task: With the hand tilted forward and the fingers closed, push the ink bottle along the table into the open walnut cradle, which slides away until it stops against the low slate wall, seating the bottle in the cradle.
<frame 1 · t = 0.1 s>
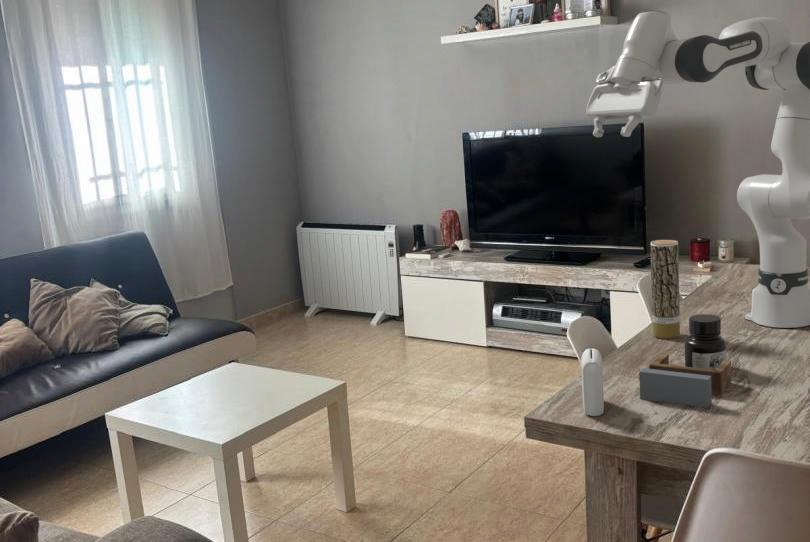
hand: (610, 136, 184), 54 cm above the table, tool tilted 30°, fingers open, 8 cm apart
wall: (675, 401, 171), on the table
photo printer: (593, 408, 171), on the table
paper tube: (666, 336, 215), on the table
cradle: (690, 373, 179), point 3 cm above the table, slide at 0.0 cm
ink bottle: (705, 369, 189), on the table
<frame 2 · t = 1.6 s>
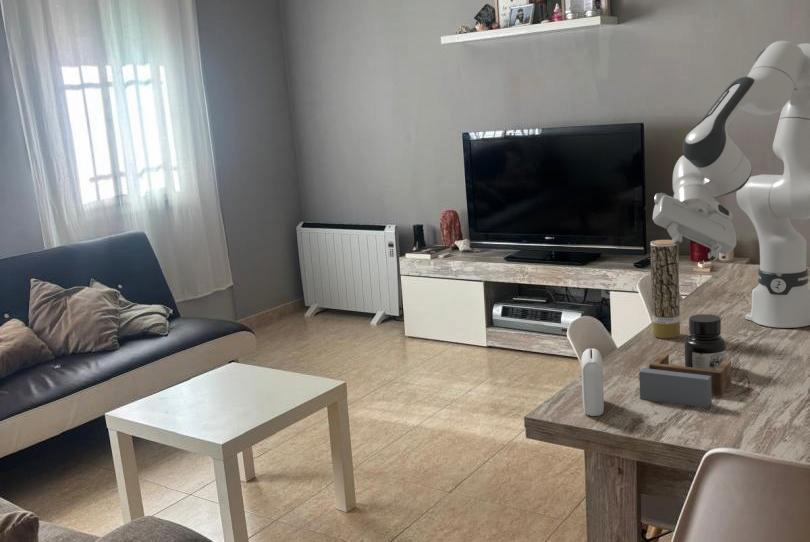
hand: (695, 250, 183), 28 cm above the table, tool tilted 55°, fingers open, 8 cm apart
nothing on the table moved.
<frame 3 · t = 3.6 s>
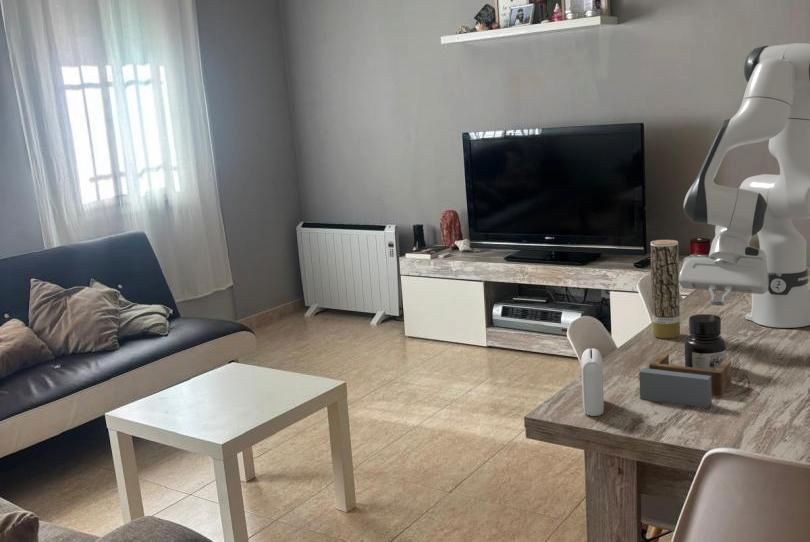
hand: (717, 304, 194), 13 cm above the table, tool tilted 45°, fingers closed
nothing on the table moved.
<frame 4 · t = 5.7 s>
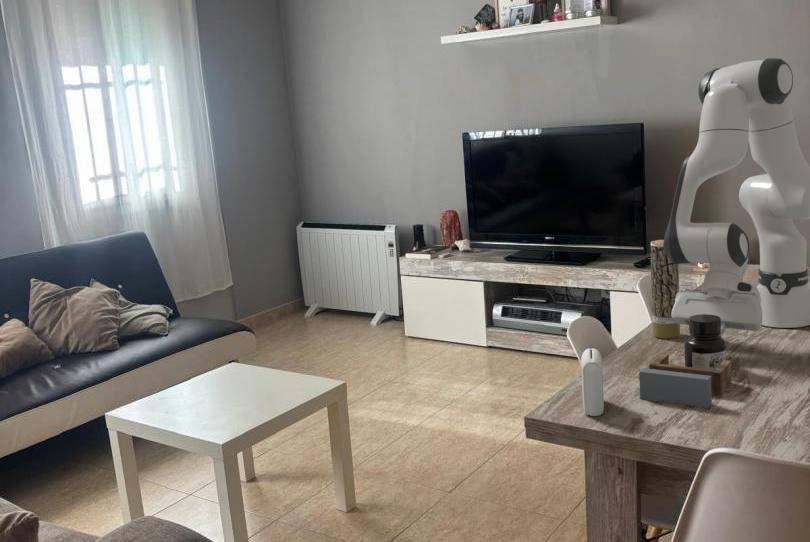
hand: (710, 341, 191), 5 cm above the table, tool tilted 45°, fingers closed, pressing on ink bottle
ink bottle: (705, 369, 188), on the table, touching gripper
everything else where it was.
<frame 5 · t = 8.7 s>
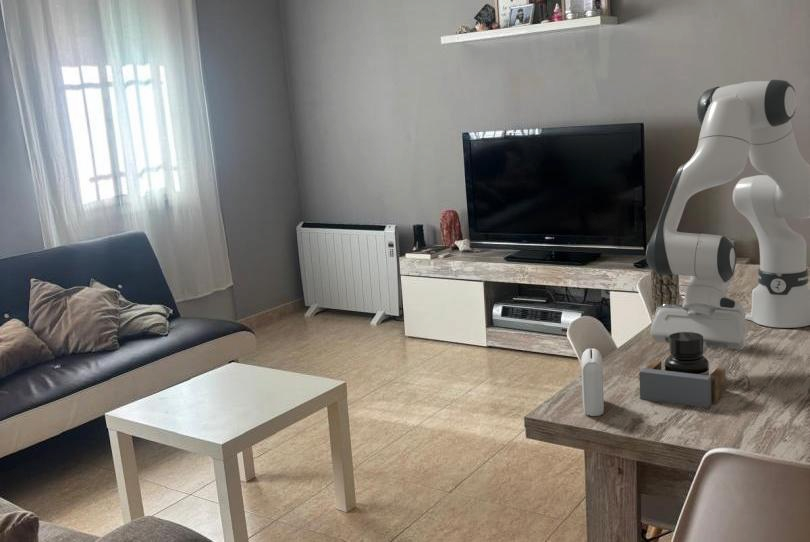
hand: (691, 361, 179), 5 cm above the table, tool tilted 45°, fingers closed, pressing on ink bottle
cradle: (683, 381, 175), point 3 cm above the table, slide at 5.1 cm, touching ink bottle
ink bottle: (687, 390, 176), on the table, touching cradle, gripper
everything else where it was.
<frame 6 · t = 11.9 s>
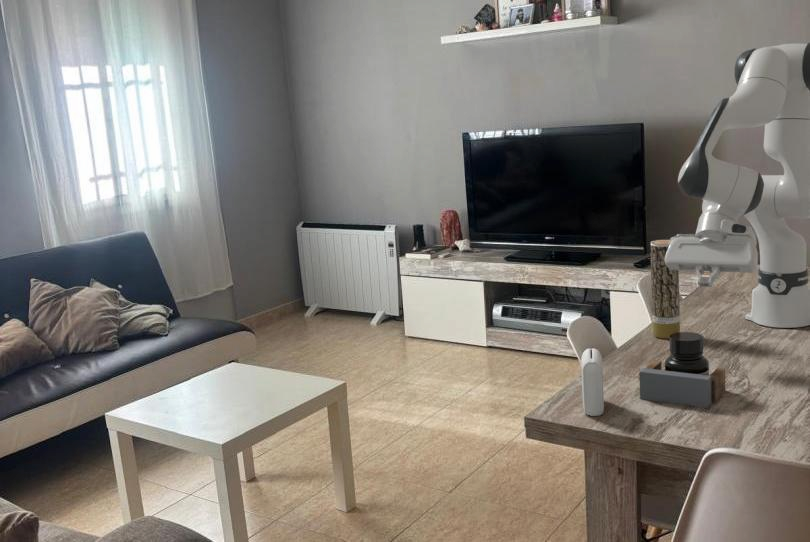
hand: (704, 285, 186), 19 cm above the table, tool tilted 45°, fingers closed
cradle: (683, 381, 175), point 2 cm above the table, slide at 5.0 cm
ink bottle: (687, 390, 176), on the table
everything else where it was.
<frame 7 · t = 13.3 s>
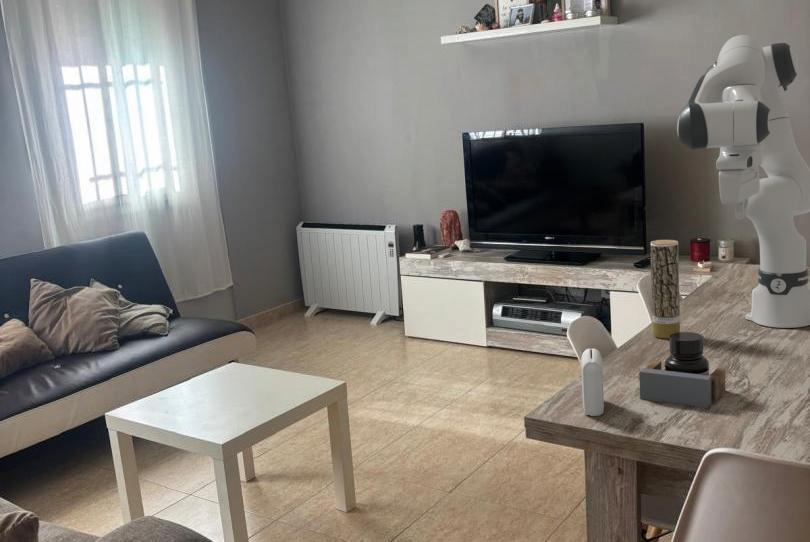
hand: (740, 218, 188), 33 cm above the table, tool pointing down, fingers closed
nothing on the table moved.
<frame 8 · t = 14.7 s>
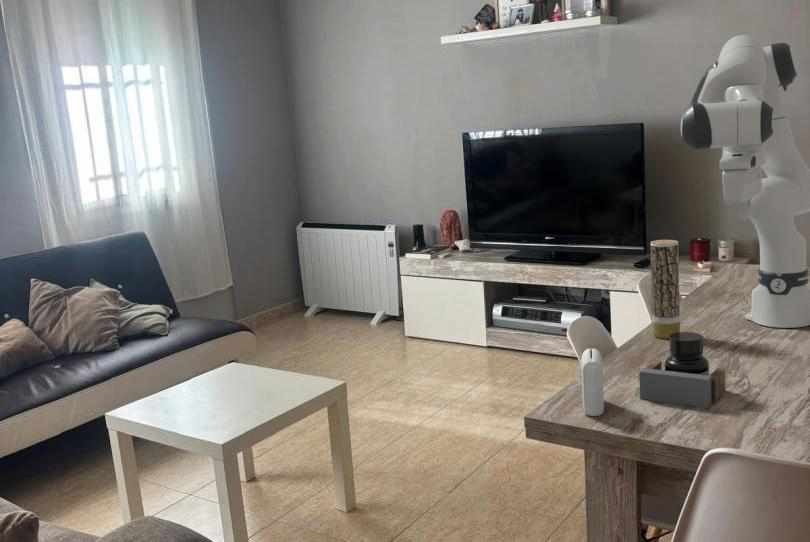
hand: (743, 218, 187), 33 cm above the table, tool pointing down, fingers closed
nothing on the table moved.
at the end: cradle slide at 5.0 cm; ink bottle 0.3 cm from the target spot on the cradle, point 0.0 cm above the cradle's base; ink bottle tilted 0° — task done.
